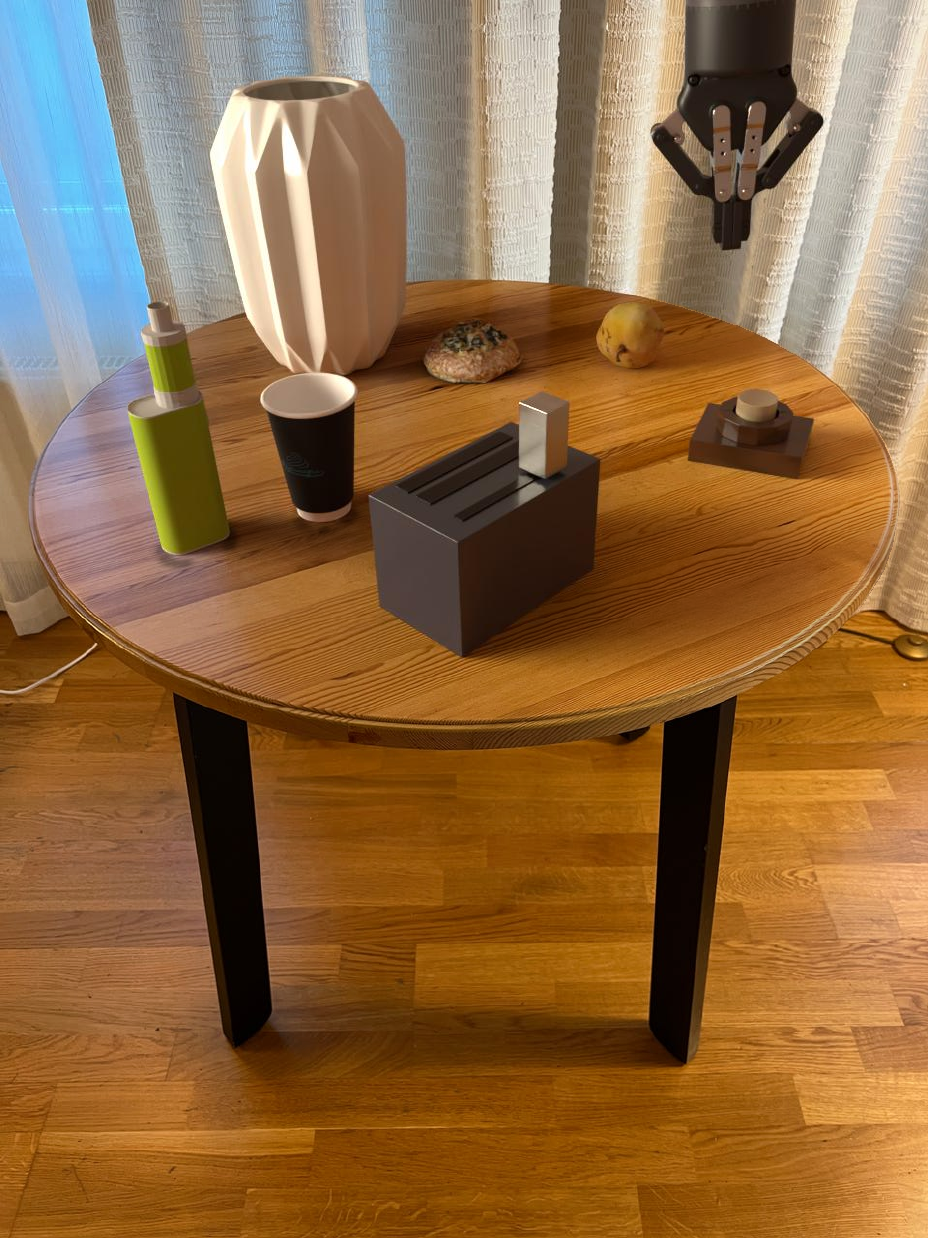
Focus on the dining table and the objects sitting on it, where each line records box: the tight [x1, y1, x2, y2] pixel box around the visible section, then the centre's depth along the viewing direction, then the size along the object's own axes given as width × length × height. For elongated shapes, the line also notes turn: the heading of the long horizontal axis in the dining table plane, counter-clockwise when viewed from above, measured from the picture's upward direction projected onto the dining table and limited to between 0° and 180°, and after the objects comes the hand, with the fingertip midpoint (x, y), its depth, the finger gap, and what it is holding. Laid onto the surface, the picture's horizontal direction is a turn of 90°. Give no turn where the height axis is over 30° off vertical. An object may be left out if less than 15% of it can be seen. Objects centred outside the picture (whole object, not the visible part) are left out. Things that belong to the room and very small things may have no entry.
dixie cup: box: [260, 373, 359, 523], centre depth 87 cm, size 8×8×11 cm
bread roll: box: [422, 318, 523, 384], centre depth 112 cm, size 11×11×5 cm
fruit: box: [595, 301, 665, 369], centre depth 110 cm, size 7×7×10 cm
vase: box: [209, 74, 408, 376], centre depth 107 cm, size 20×20×28 cm
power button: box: [735, 388, 779, 422], centre depth 93 cm, size 4×4×2 cm
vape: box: [126, 300, 231, 556], centre depth 81 cm, size 4×6×20 cm, turn 126°
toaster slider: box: [518, 390, 570, 479], centre depth 72 cm, size 2×3×5 cm
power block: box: [687, 396, 815, 480], centre depth 95 cm, size 10×8×4 cm
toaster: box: [368, 421, 601, 659], centre depth 77 cm, size 15×9×10 cm, turn 135°
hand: (730, 246), depth 81 cm, fingers closed
